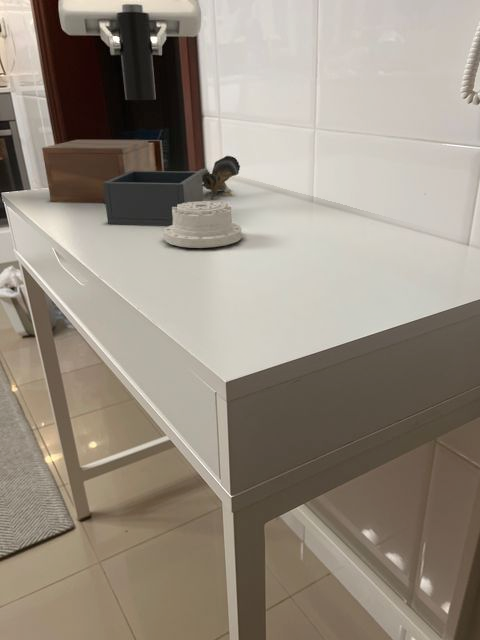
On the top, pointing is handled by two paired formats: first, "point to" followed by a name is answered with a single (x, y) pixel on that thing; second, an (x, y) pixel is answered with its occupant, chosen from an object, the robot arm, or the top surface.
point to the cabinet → (91, 166)
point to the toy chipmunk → (220, 175)
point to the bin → (150, 196)
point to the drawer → (156, 155)
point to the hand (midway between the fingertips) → (136, 51)
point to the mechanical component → (202, 225)
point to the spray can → (136, 53)
